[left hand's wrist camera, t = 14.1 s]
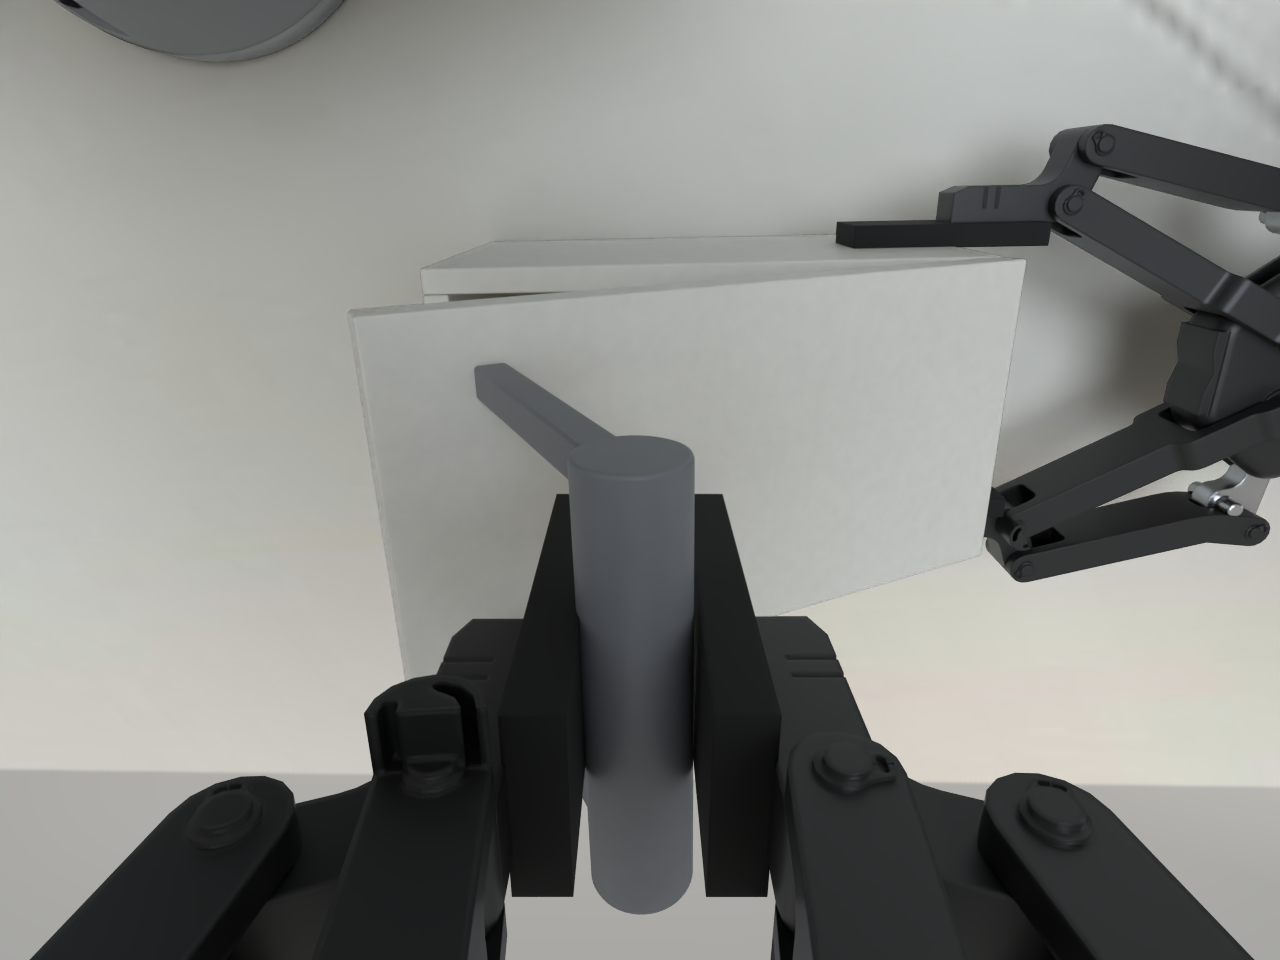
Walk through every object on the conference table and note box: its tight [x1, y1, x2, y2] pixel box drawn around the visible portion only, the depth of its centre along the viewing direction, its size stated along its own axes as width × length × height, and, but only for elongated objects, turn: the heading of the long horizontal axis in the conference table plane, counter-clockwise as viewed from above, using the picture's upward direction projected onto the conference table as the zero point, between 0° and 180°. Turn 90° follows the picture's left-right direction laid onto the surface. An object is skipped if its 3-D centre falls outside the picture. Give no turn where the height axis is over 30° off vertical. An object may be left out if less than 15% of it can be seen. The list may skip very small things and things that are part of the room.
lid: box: [348, 257, 1026, 914], centre depth 17 cm, size 18×9×9 cm, turn 92°
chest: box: [420, 234, 1001, 304], centre depth 29 cm, size 17×9×11 cm, turn 91°
